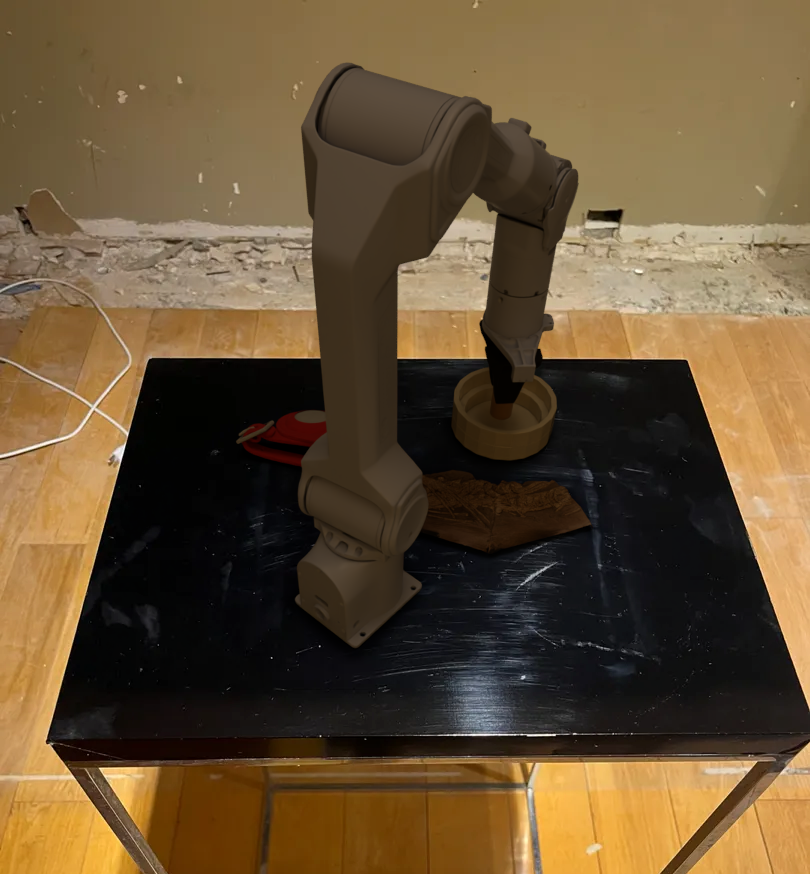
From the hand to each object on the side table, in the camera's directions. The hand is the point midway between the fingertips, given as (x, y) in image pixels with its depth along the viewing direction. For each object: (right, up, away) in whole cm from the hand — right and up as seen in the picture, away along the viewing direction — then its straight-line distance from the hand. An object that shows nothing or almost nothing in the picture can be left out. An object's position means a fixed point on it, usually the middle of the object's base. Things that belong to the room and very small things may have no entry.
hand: (502, 392), depth 89 cm
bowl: (0, -3, +5) cm, 6 cm away
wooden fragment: (-4, -13, -4) cm, 14 cm away
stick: (0, -2, +2) cm, 3 cm away
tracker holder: (-22, -5, +3) cm, 23 cm away
